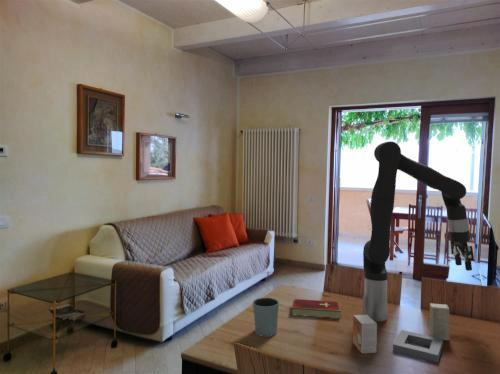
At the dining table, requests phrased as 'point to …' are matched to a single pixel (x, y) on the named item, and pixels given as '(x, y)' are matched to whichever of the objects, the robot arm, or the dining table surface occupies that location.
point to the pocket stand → (415, 351)
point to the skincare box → (439, 321)
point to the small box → (364, 333)
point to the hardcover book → (316, 308)
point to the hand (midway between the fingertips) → (463, 267)
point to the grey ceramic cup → (266, 316)
